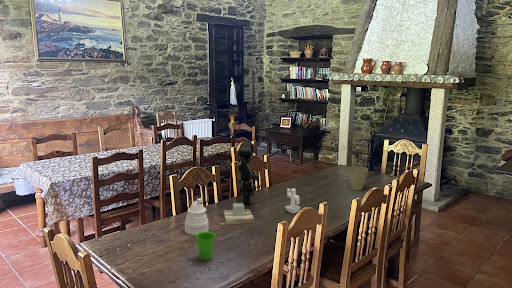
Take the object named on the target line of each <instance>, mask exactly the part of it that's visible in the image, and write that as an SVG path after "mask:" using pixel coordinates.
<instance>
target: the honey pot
mask: <svg viewBox="0 0 512 288" xmlns="http://www.w3.org/2000/svg"><path fill="white" fill-rule="evenodd" d="M202 201H203V198H197V199H196V200H194V201H193V202H192V203H191V205H190V207H189V208H188V209H187V214H186V217H185V220H184V232H185V233H186V234H188V235H190V234H191V235H192V236H196V235H197V234H198V233H200V232H209V230H208V229H209V219H208V216H207V213H206V212H207V208H206V207H204V206H203V205H202ZM191 235H190V236H191Z"/></svg>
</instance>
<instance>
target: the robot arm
mask: <svg viewBox="0 0 512 288" xmlns="http://www.w3.org/2000/svg"><path fill="white" fill-rule="evenodd" d="M255 147H256V146H255V144H254V142H252V141H251V140H244V141H243V143H242V144H241V147H240V148H239V150H238V155H237V156H238V157H237V161H238V162H239V165H238V171H239V173H238V175H237V181H238V183H239V196H242V197H241V199H242V200H241V201H240V203H243V204H244V206H247V205H248V206H249V205H253V203H252V200H251V199H252V197H253V196H255V190H254V189H255V188H254V187H253V182H252V181H251V180H253V181H255V182H257V181H258V179H259V177H260V175H259V174H257V173H256V171H254V170H253V171H251V170H252V169H251V168H252V160H253V157H254V155H255V154H254V153H255V151H256V150H255Z"/></svg>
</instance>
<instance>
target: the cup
mask: <svg viewBox="0 0 512 288" xmlns="http://www.w3.org/2000/svg"><path fill="white" fill-rule="evenodd" d="M215 237H216V234H215V233H214V232H212V231H208V232H200V233H198V234H197V235H195V238H196V243H197V248H198V249H197V250H198V253H199V254H198V255H199V258H200V260H202V261H208V260H210V259H211V258H212V254H213V248H214V242H215Z"/></svg>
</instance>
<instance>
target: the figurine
mask: <svg viewBox="0 0 512 288" xmlns="http://www.w3.org/2000/svg"><path fill="white" fill-rule="evenodd" d="M286 196H287V198H290V204H287V205H285V206H284V208H285V210H286V211H287V213H289V214H292V215H293V214H296V213H299V211H300V209H301V208H302V207H301V206H299V205H300V200H301V199H300V195H297V190H296V188H287V189H286Z"/></svg>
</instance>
